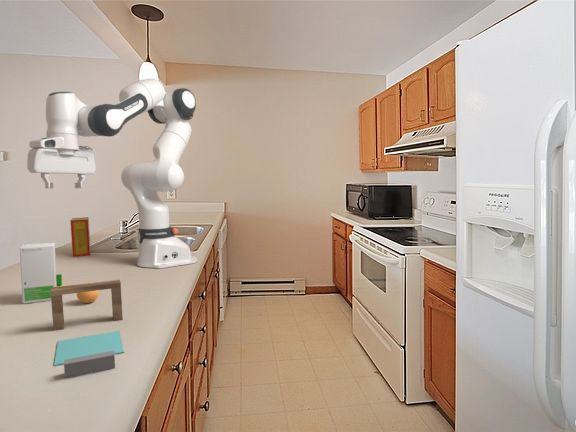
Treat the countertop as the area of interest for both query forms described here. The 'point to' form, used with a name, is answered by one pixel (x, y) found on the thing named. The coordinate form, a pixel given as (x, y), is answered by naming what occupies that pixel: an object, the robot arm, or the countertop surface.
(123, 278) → the countertop surface
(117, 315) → the bridge
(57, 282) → the dish sponge
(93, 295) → the ball
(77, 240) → the baking soda box
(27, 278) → the skincare box
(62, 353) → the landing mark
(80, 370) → the stopper
